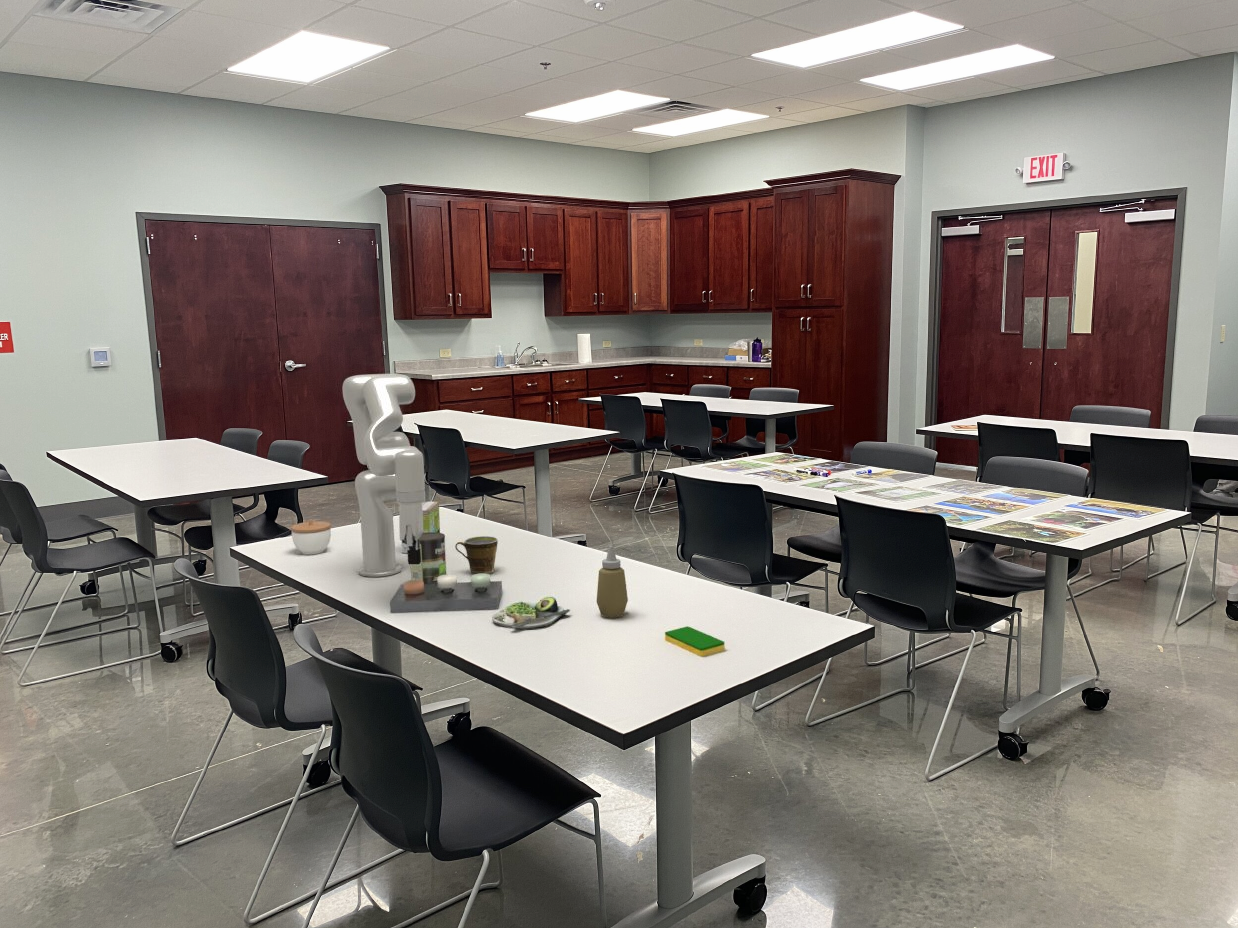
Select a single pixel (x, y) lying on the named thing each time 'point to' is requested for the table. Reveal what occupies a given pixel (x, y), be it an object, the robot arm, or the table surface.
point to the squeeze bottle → (611, 587)
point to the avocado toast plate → (530, 614)
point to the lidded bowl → (311, 536)
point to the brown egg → (414, 587)
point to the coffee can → (430, 558)
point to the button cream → (447, 582)
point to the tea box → (427, 520)
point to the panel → (447, 598)
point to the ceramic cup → (480, 553)
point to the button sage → (480, 581)
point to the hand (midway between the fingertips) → (414, 563)
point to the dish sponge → (694, 641)
